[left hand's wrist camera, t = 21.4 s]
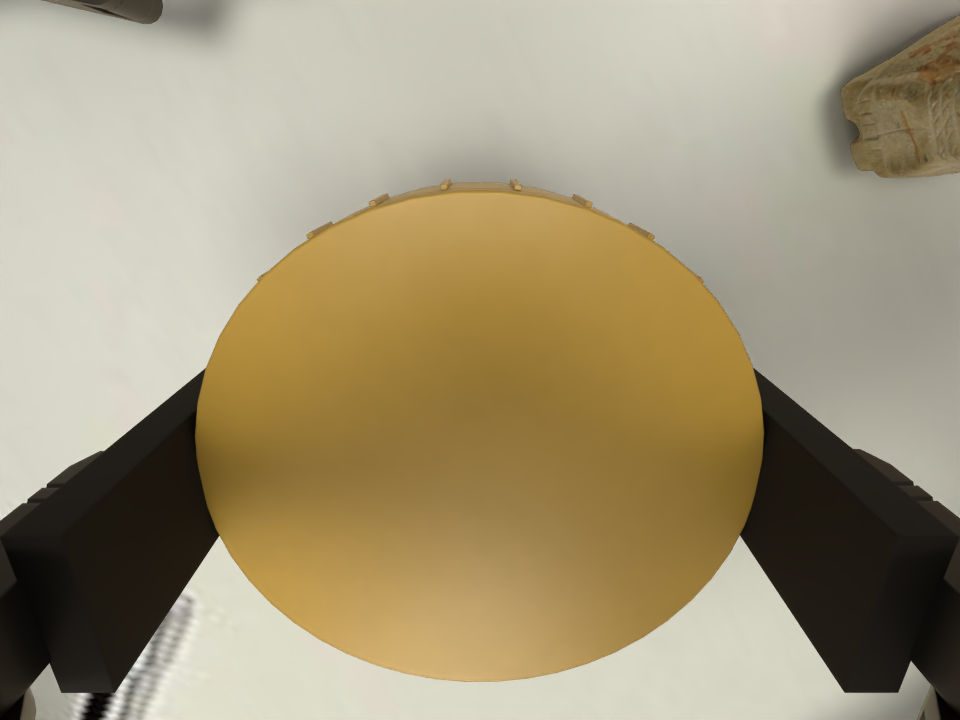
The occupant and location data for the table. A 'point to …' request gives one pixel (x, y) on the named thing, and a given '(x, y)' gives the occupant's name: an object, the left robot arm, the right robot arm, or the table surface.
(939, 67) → the sculpture
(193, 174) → the table surface
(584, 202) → the lid
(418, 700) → the table surface
